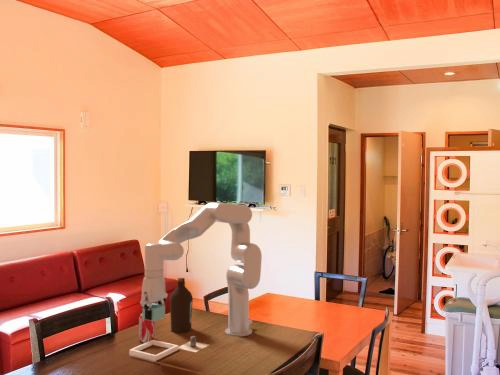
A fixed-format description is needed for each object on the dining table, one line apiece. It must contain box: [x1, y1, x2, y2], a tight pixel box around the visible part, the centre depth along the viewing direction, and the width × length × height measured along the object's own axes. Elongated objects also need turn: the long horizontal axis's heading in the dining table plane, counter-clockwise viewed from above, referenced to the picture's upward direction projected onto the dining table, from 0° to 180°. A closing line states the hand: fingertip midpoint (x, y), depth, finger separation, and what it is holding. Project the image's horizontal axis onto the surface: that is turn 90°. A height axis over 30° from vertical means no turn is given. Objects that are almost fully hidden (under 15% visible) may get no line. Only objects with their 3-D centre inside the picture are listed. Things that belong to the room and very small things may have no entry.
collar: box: [142, 302, 166, 323], centre depth 197 cm, size 8×6×5 cm
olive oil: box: [169, 277, 194, 334], centre depth 224 cm, size 11×11×25 cm
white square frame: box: [128, 339, 180, 363], centre depth 196 cm, size 14×14×2 cm
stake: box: [179, 335, 210, 353], centre depth 203 cm, size 10×10×5 cm
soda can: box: [138, 313, 156, 344], centre depth 211 cm, size 7×7×12 cm
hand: (154, 316), depth 196 cm, fingers closed on collar, 6 cm apart
